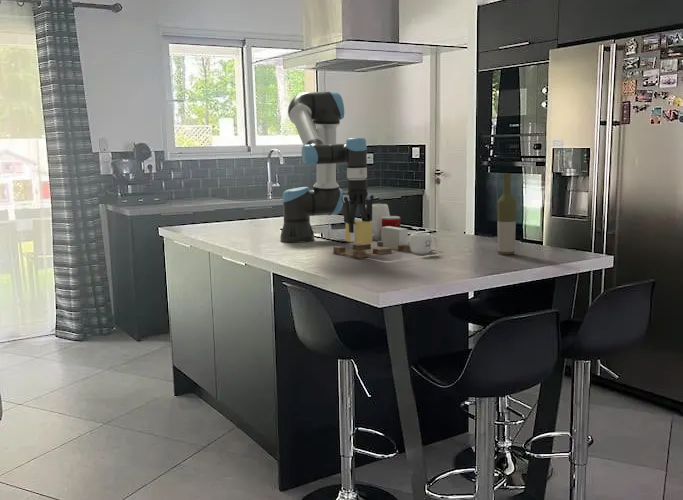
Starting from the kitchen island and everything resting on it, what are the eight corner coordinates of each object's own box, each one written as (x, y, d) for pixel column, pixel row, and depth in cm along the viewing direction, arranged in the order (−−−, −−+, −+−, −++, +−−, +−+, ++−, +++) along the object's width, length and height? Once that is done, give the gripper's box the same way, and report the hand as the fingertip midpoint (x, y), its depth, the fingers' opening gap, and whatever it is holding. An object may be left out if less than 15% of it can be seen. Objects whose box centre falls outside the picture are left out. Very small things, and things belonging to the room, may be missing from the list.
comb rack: (333, 253, 269) (333, 246, 269) (383, 247, 282) (383, 240, 281) (358, 259, 254) (358, 252, 254) (410, 252, 267) (410, 245, 266)
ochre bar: (372, 243, 260) (371, 222, 259) (363, 244, 258) (362, 223, 256) (354, 240, 270) (354, 219, 269) (345, 241, 268) (345, 220, 266)
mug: (418, 256, 256) (417, 235, 255) (405, 253, 263) (404, 233, 262) (443, 253, 262) (443, 233, 261) (430, 250, 269) (430, 230, 268)
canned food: (399, 243, 289) (399, 217, 287) (380, 243, 291) (380, 217, 289) (401, 241, 296) (401, 215, 295) (383, 241, 298) (382, 215, 296)
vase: (387, 241, 297) (386, 206, 295) (356, 240, 302) (355, 206, 300) (395, 236, 311) (395, 203, 308) (365, 236, 315) (364, 203, 313)
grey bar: (381, 246, 277) (381, 226, 276) (389, 245, 279) (389, 226, 278) (399, 250, 267) (399, 229, 266) (407, 249, 269) (407, 228, 268)
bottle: (519, 254, 255) (521, 173, 250) (505, 256, 252) (506, 174, 247) (506, 252, 261) (507, 172, 257) (492, 253, 258) (493, 173, 253)
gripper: (343, 180, 253) (345, 243, 256) (381, 178, 261) (382, 239, 265) (332, 180, 259) (334, 241, 262) (370, 177, 268) (371, 237, 271)
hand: (358, 240), depth 264 cm, fingers closed on ochre bar, 4 cm apart
